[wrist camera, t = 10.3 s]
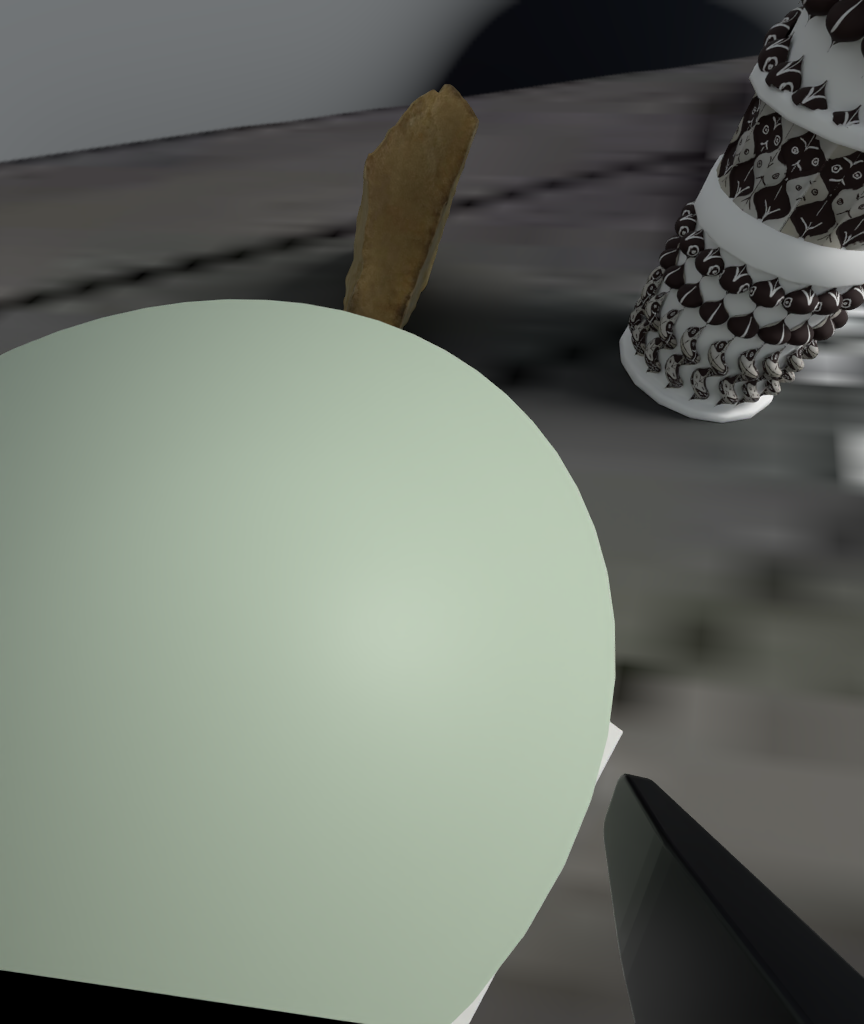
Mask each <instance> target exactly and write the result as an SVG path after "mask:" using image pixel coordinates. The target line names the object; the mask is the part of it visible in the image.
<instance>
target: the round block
mask: <svg viewBox="0 0 864 1024" xmlns="http://www.w3.org/2000/svg"><path fill="white" fill-rule="evenodd" d="M614 683H615V622H614V615H613V608H612V601H611V594H610V586H609V579H608V573H607V569H606V566H605V562H604V559H603V555H602V552H601V548H600V544H599V541H598V537H597V534H596V530H595V527H594V525H593V523H592V520H591V518H590V516H589V513H588V511H587V509H586V506H585V504H584V501H583V499H582V497H581V494H580V492H579V490H578V488H577V486H576V484H575V483H574V481H573V479H572V478H571V476H570V474H569V472H568V471H567V469H566V467H565V466H564V464H563V462H562V461H561V459H560V457H559V455H558V454H557V452H556V451H555V450H554V448H553V447H552V446H551V444H550V443H549V442H548V441H547V439H546V438H545V437H544V435H543V434H542V433H541V431H540V430H539V429H538V428H537V426H536V425H535V424H534V422H533V421H532V420H531V419H530V418H529V417H528V416H527V415H526V414H525V413H524V412H523V411H522V410H521V409H520V408H519V407H518V406H517V405H516V404H515V403H514V402H513V401H512V400H511V399H510V398H509V397H508V396H507V395H506V394H505V393H504V392H503V391H502V390H500V389H499V388H498V387H497V386H495V385H494V384H493V383H492V382H490V381H489V380H488V379H487V378H486V377H484V376H483V375H482V374H481V373H479V372H478V371H477V370H475V369H474V368H472V367H471V366H469V365H468V364H466V363H464V362H463V361H461V360H460V359H458V358H457V357H455V356H454V355H452V354H450V353H449V352H447V351H446V350H444V349H442V348H440V347H438V346H436V345H434V344H432V343H430V342H428V341H426V340H424V339H422V338H420V337H418V336H416V335H414V334H412V333H409V332H407V331H404V330H402V329H399V328H396V327H394V326H391V325H389V324H386V323H383V322H381V321H378V320H374V319H371V318H367V317H364V316H360V315H357V314H353V313H350V312H346V311H342V310H337V309H332V308H326V307H321V306H315V305H310V304H304V303H294V302H283V301H273V300H237V299H225V300H210V301H195V302H184V303H177V304H170V305H163V306H156V307H150V308H144V309H139V310H135V311H130V312H126V313H121V314H117V315H112V316H108V317H104V318H100V319H97V320H93V321H90V322H87V323H84V324H80V325H77V326H74V327H71V328H67V329H64V330H61V331H58V332H55V333H53V334H50V335H48V336H45V337H43V338H40V339H37V340H35V341H32V342H30V343H27V344H25V345H22V346H20V347H17V348H15V349H12V350H10V351H8V352H6V353H4V354H2V355H0V1024H451V1023H452V1022H453V1021H454V1020H455V1019H456V1018H457V1017H458V1016H459V1015H460V1014H461V1013H462V1012H463V1011H464V1010H465V1009H466V1008H468V1007H469V1006H470V1005H471V1004H472V1003H473V1002H474V1000H475V999H476V998H477V996H478V995H479V994H480V992H481V991H482V990H483V989H484V987H485V986H486V985H487V983H488V982H489V981H490V979H491V978H492V977H493V975H494V974H495V973H496V971H497V970H498V969H499V968H500V966H501V965H502V964H503V962H504V961H505V960H506V958H507V957H508V956H509V954H510V953H511V952H512V951H513V949H514V948H515V947H516V945H517V944H518V943H519V941H520V940H521V939H522V937H523V936H524V935H525V933H526V932H527V930H528V928H529V926H530V925H531V923H532V921H533V919H534V918H535V916H536V914H537V912H538V911H539V909H540V907H541V905H542V904H543V902H544V900H545V898H546V897H547V895H548V893H549V891H550V890H551V888H552V886H553V884H554V883H555V881H556V879H557V877H558V876H559V874H560V872H561V870H562V869H563V867H564V865H565V863H566V860H567V858H568V855H569V853H570V850H571V848H572V845H573V843H574V841H575V838H576V836H577V833H578V831H579V828H580V826H581V823H582V821H583V819H584V816H585V814H586V811H587V809H588V806H589V804H590V801H591V799H592V795H593V791H594V787H595V783H596V780H597V776H598V772H599V768H600V764H601V760H602V757H603V753H604V749H605V745H606V741H607V738H608V731H609V723H610V715H611V707H612V699H613V691H614Z"/></svg>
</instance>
